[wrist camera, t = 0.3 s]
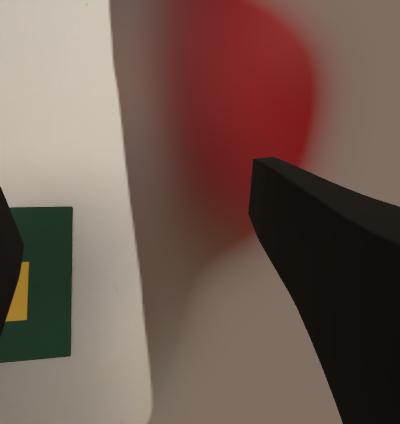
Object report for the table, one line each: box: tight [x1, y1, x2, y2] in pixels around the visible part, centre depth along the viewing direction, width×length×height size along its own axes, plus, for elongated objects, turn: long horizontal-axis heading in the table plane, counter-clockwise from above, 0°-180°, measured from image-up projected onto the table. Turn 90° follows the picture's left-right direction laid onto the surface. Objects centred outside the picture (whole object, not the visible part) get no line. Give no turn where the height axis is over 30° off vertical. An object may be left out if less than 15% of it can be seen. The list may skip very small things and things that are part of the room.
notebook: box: [0, 207, 72, 363], centre depth 36 cm, size 16×11×1 cm
